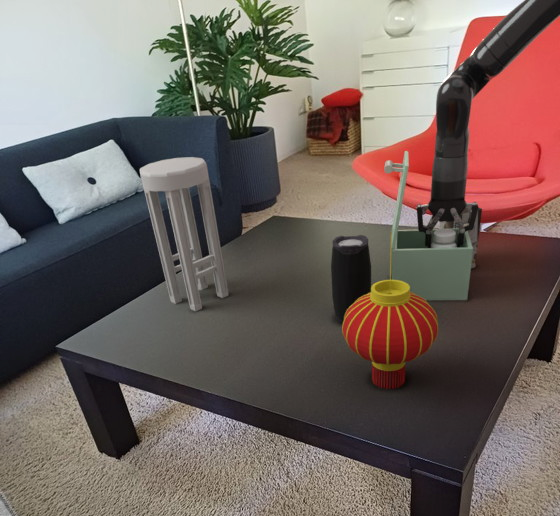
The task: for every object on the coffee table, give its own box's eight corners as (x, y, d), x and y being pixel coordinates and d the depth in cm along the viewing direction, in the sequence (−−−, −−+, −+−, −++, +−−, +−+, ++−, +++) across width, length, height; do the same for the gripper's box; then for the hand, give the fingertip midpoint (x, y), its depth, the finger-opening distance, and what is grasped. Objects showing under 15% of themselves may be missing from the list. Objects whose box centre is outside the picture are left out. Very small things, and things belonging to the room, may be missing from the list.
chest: (461, 277, 137) (467, 227, 130) (467, 301, 126) (473, 248, 119) (392, 278, 141) (393, 230, 133) (391, 301, 130) (392, 250, 122)
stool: (160, 302, 143) (126, 169, 123) (204, 282, 151) (179, 154, 132) (194, 318, 133) (163, 175, 114) (239, 295, 141) (218, 159, 122)
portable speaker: (358, 332, 119) (357, 250, 108) (325, 322, 125) (321, 243, 114) (378, 316, 124) (379, 236, 113) (346, 307, 130) (343, 230, 119)
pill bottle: (443, 283, 127) (446, 239, 121) (423, 277, 132) (425, 233, 125) (459, 275, 130) (463, 231, 124) (439, 269, 134) (442, 226, 128)
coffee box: (476, 268, 141) (483, 208, 132) (456, 273, 139) (462, 213, 130) (455, 257, 148) (460, 200, 139) (435, 262, 147) (440, 205, 138)
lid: (408, 151, 122) (386, 149, 123) (408, 165, 111) (385, 163, 112) (395, 228, 133) (375, 226, 134) (394, 248, 122) (373, 246, 123)
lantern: (394, 348, 112) (399, 208, 95) (453, 387, 99) (469, 232, 82) (327, 375, 106) (319, 231, 89) (380, 420, 93) (382, 261, 76)
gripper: (416, 182, 116) (413, 254, 125) (485, 178, 113) (476, 252, 122) (415, 173, 122) (412, 242, 131) (481, 169, 119) (473, 241, 128)
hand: (443, 247), depth 126 cm, fingers closed on pill bottle, 6 cm apart
